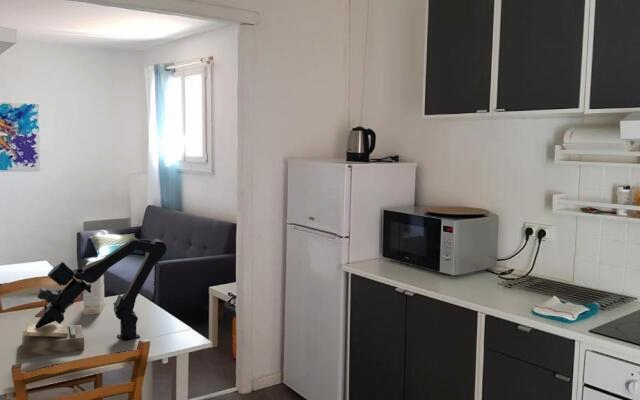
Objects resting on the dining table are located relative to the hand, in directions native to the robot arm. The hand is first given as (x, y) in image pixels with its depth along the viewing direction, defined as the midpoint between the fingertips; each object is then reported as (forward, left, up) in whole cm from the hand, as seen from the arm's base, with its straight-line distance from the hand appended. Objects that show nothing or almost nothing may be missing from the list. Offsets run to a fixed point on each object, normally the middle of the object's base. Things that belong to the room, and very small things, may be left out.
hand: (36, 327), depth 200 cm
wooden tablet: (+46, -22, -9) cm, 52 cm away
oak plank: (-1, -3, -2) cm, 4 cm away
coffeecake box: (+33, -34, -8) cm, 49 cm away
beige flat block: (-2, -5, -8) cm, 9 cm away
